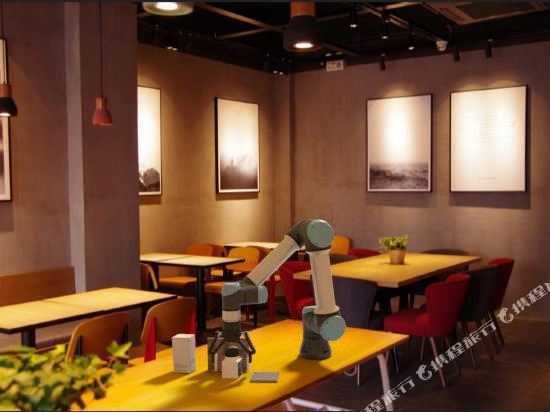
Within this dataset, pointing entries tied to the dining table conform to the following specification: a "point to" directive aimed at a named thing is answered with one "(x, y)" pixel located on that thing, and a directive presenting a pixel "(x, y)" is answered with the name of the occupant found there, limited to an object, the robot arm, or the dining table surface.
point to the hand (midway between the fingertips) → (232, 370)
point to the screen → (222, 353)
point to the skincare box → (184, 353)
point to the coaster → (264, 377)
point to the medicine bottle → (232, 364)
